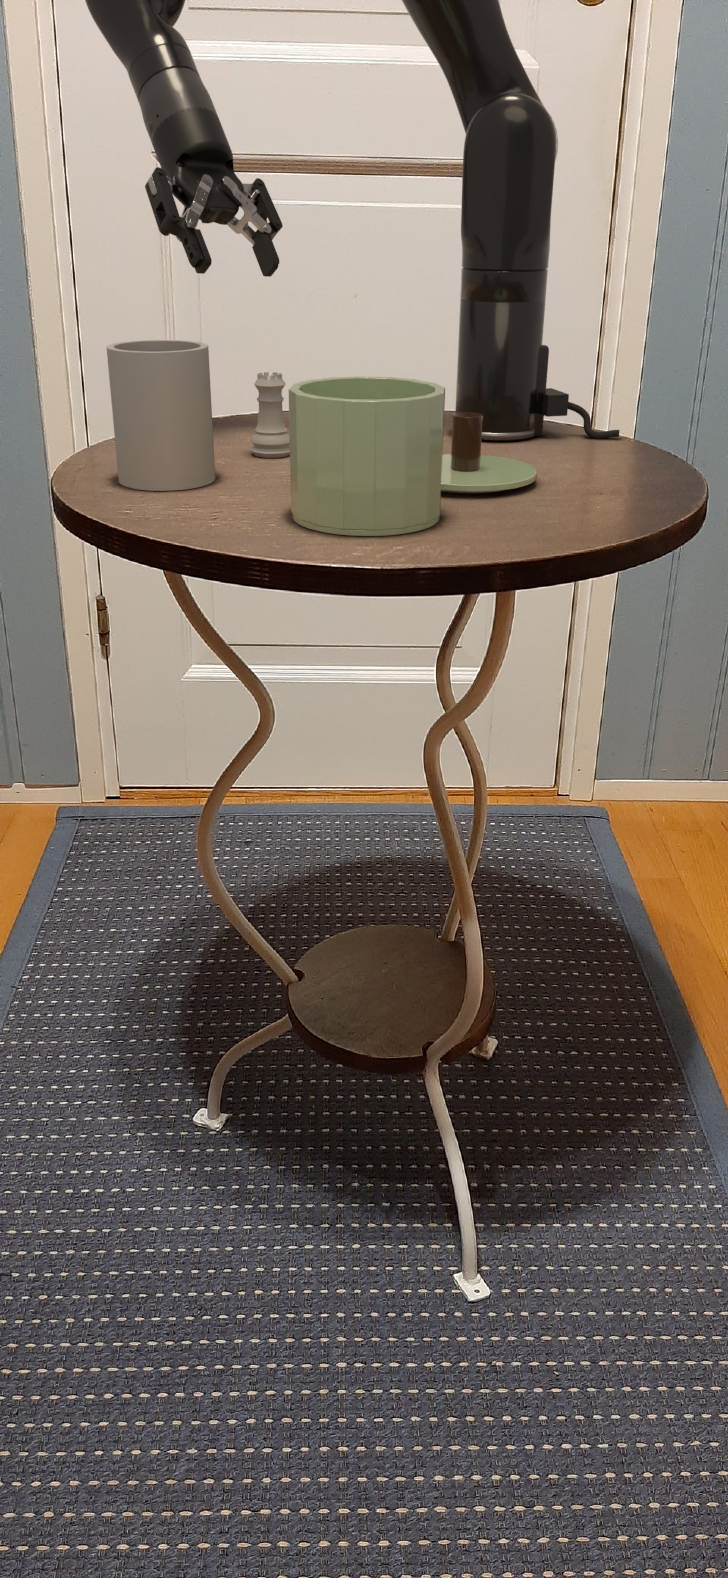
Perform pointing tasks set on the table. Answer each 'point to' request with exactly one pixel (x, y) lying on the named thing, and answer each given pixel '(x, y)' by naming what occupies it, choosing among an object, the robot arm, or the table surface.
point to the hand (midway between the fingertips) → (239, 270)
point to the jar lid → (479, 462)
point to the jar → (366, 454)
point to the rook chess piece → (270, 418)
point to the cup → (162, 414)
